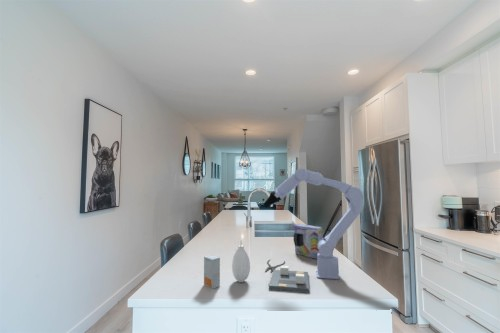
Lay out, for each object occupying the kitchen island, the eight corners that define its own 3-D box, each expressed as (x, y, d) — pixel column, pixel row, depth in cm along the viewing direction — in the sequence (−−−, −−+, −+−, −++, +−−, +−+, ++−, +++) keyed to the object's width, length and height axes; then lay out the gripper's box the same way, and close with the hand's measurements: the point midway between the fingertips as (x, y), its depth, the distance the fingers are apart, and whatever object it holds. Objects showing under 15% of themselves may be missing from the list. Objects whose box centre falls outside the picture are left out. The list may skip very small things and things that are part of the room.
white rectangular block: (304, 281, 108) (304, 273, 108) (304, 284, 105) (304, 276, 105) (295, 280, 109) (295, 273, 109) (295, 283, 106) (295, 275, 106)
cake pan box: (293, 253, 157) (292, 223, 158) (298, 251, 160) (298, 222, 161) (318, 260, 142) (318, 228, 143) (324, 258, 145) (323, 227, 146)
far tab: (288, 272, 118) (288, 266, 118) (288, 274, 115) (288, 268, 115) (280, 272, 119) (280, 265, 119) (280, 274, 116) (280, 267, 116)
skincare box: (203, 285, 109) (203, 256, 109) (211, 282, 112) (211, 254, 112) (211, 289, 104) (212, 259, 105) (220, 286, 107) (220, 257, 108)
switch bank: (307, 275, 120) (307, 271, 120) (309, 292, 101) (309, 288, 101) (273, 272, 123) (273, 269, 123) (268, 289, 104) (268, 285, 104)
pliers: (285, 259, 142) (285, 272, 122) (285, 261, 142) (285, 274, 122) (267, 259, 143) (264, 271, 124) (267, 260, 143) (264, 273, 124)
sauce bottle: (234, 285, 108) (234, 242, 109) (230, 279, 115) (230, 238, 116) (252, 283, 110) (252, 241, 111) (247, 277, 118) (247, 237, 119)
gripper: (282, 180, 133) (262, 198, 134) (280, 180, 118) (258, 200, 120) (291, 191, 131) (271, 208, 133) (290, 192, 117) (268, 211, 119)
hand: (265, 205), depth 126 cm, fingers open, 7 cm apart
